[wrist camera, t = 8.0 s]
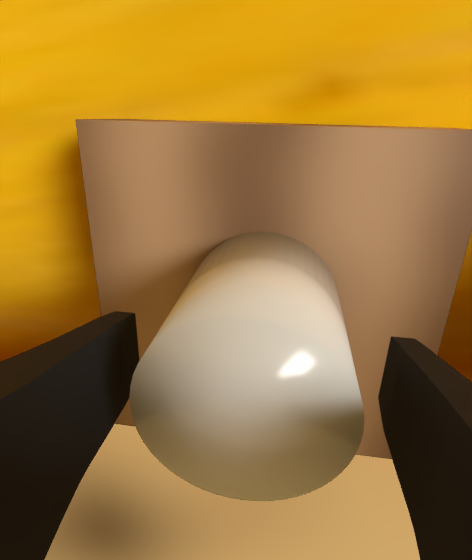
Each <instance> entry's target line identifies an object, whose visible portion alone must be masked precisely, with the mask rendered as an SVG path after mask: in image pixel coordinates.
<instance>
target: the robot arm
mask: <svg viewBox="0 0 472 560" xmlns="http://www.w3.org/2000/svg"><path fill="white" fill-rule="evenodd" d="M139 361H140V360H139V349H138V338H137V327H136V316H135V313H130V312H120V311H114V312H112V313H109V314H106V315H104V316H102V317H99V318H97V319H95V320H93V321H91V322H89V323H87V324H85V325H83V326H80V327H78V328H76V329H74V330H72V331H70V332H68V333H66V334H64V335H62V336H60V337H57V338H55V339H53V340H51V341H49V342H46V343H44V344H42V345H39V346H37V347H35V348H33V349H30V350H28V351H26V352H24V353H21V354H19V355H16V356H14V357H11V358H9V359H6V360H4V361H1V362H0V560H44V559H45V556H46V555H47V552H48V550H49V548H50V545H51V543H52V541H53V539H54V537H55V534H56V532H57V530H58V528H59V525H60V523H61V521H62V519H63V517H64V514H65V512H66V510H67V508H68V506H69V504H70V502H71V500H72V497H73V496H74V493H75V491H76V489H77V487H78V485H79V483H80V481H81V479H82V477H83V476H84V474H85V472H86V470H87V468H88V466H89V464H90V463H91V461H92V460H93V458H94V456H95V455H96V453H97V452H98V450H99V448H100V447H101V445H102V443H103V442H104V440H105V438H106V437H107V435H108V433H109V432H110V430H111V428H112V427H113V425H114V424H115V422H116V420H117V418H118V417H119V415H120V413H121V412H122V410H123V408H124V407H125V405H126V403H127V401H128V399H129V397H130V385H131V381H132V377H133V374H134V371H135V369H136V367H137V365H138V363H139ZM378 400H379V407H380V413H381V419H382V424H383V430H384V434H385V437H386V440H387V444H388V447H389V450H390V453H391V457H392V460H393V463H394V466H395V469H396V472H397V476H398V479H399V482H400V485H401V488H402V491H403V494H404V497H405V501H406V504H407V507H408V510H409V513H410V517H411V521H412V524H413V528H414V532H415V536H416V541H417V546H418V550H419V555H420V560H472V382H471V381H469V380H468V379H467V378H466V377H464V376H463V375H462V374H460V373H459V372H458V371H457V370H455V369H454V368H453V367H451V366H450V365H449V364H448V363H446V362H445V361H444V360H443V359H441V358H440V357H439V356H438V355H436V354H435V353H434V352H433V351H431V350H430V349H429V348H427V347H426V346H425V345H423V344H422V343H421V342H419V341H418V340H416V339H414V338H403V337H392V336H391V339H390V343H389V348H388V353H387V357H386V362H385V367H384V372H383V376H382V381H381V386H380V390H379V395H378Z"/></svg>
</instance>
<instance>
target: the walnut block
mask: <svg viewBox="0 0 472 560" xmlns="http://www.w3.org/2000/svg"><path fill="white" fill-rule="evenodd" d="M76 127H77V135H78V142H79V150H80V158H81V165H82V173H83V181H84V188H85V196H86V203H87V211H88V219H89V226H90V234H91V242H92V249H93V257H94V265H95V272H96V280H97V288H98V295H99V303H100V311H101V317H102V316H104V315H106V314H109V313H112V312H114V311H120V312H130V313H135V316H136V327H137V338H138V349H139V360H140V359H141V358H142V356H143V355H144V353H145V352H146V350H147V348H148V347H149V345H150V344H151V342H152V340H153V339H154V337H155V336H156V334H157V333H158V331H159V329H160V328H161V326H162V325H163V323H164V321H165V320H166V318H167V317H168V315H169V314H170V312H171V310H172V309H173V307H174V306H175V304H176V302H177V301H178V299H179V298H180V296H181V295H182V293H183V291H184V290H185V288H186V287H187V285H188V283H189V282H190V280H191V279H192V277H193V276H194V274H195V272H196V271H197V269H198V268H199V266H200V265H201V263H202V262H203V260H204V259H205V257H206V256H207V255H208V254H209V253H210V252H211V251H212V250H213V249H215V248H216V247H217V246H218V245H220V244H222V243H223V242H225V241H227V240H229V239H231V238H233V237H236V236H239V235H243V234H248V233H255V232H268V233H276V234H281V235H285V236H288V237H291V238H293V239H296V240H298V241H300V242H302V243H304V244H305V245H306V246H308V247H309V248H311V249H312V250H313V251H314V252H316V253H317V254H318V255H319V256H320V257H321V259H322V260H323V261H324V262H325V263H326V265H327V266H328V268H329V270H330V271H331V273H332V275H333V278H334V280H335V283H336V287H337V291H338V296H339V300H340V304H341V309H342V313H343V318H344V322H345V327H346V331H347V336H348V340H349V345H350V349H351V354H352V358H353V363H354V367H355V371H356V376H357V380H358V385H359V389H360V394H361V398H362V403H363V409H364V418H365V419H364V432H363V436H362V440H361V443H360V446H359V448H358V450H357V452H356V455H364V456H372V457H379V458H388V459H392V457H391V453H390V450H389V447H388V444H387V440H386V437H385V434H384V430H383V424H382V419H381V413H380V407H379V400H378V395H379V390H380V386H381V381H382V376H383V372H384V367H385V362H386V357H387V353H388V348H389V343H390V339H391V336H392V337H403V338H414V339H416V340H418V341H419V342H421V343H422V344H423V345H425V346H426V347H427V348H429V349H430V350H431V351H433V352H434V353H435V354H436V355H438V351H439V348H440V344H441V340H442V337H443V333H444V329H445V326H446V322H447V318H448V315H449V311H450V308H451V304H452V300H453V297H454V293H455V289H456V286H457V282H458V278H459V275H460V271H461V267H462V264H463V260H464V256H465V253H466V249H467V245H468V242H469V238H470V234H471V231H472V129H459V128H427V127H391V126H355V125H319V124H283V123H247V122H211V121H174V120H138V119H76ZM115 424H121V425H129V426H135V423H134V421H133V417H132V413H131V409H130V397H129V399H128V401H127V403H126V405H125V407H124V408H123V410H122V412H121V413H120V415H119V417H118V418H117V420H116V422H115Z"/></svg>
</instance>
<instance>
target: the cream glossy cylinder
mask: <svg viewBox="0 0 472 560" xmlns="http://www.w3.org/2000/svg"><path fill="white" fill-rule="evenodd" d="M130 409H131V413H132V417H133V421H134V423H135V426H136V429H137V431H138V433H139V435H140V436H141V438H142V440H143V442H144V443H145V445H146V446H147V447H148V449H149V450H150V451H151V453H152V454H153V455H154V456H155V457H156V458H157V459H158V460H159V461H160V462H161V463H162V464H163V465H164V466H166V467H167V468H168V469H169V470H170V471H172V472H173V473H175V474H176V475H177V476H179V477H180V478H182V479H184V480H185V481H187V482H189V483H191V484H193V485H195V486H197V487H199V488H201V489H203V490H206V491H209V492H212V493H215V494H218V495H222V496H225V497H229V498H235V499H240V500H251V501H273V500H282V499H288V498H293V497H297V496H300V495H303V494H306V493H309V492H311V491H314V490H316V489H318V488H320V487H322V486H324V485H325V484H327V483H328V482H330V481H332V479H334V478H335V477H336V476H338V475H339V474H340V473H341V472H342V471H343V470H344V469H345V468H346V467H347V466H348V465H349V463H350V462H351V460H352V459H353V457H354V456H355V454H356V452H357V450H358V448H359V446H360V443H361V440H362V436H363V432H364V419H365V418H364V409H363V403H362V398H361V394H360V389H359V385H358V380H357V376H356V371H355V367H354V363H353V358H352V354H351V349H350V345H349V340H348V336H347V331H346V327H345V322H344V318H343V313H342V309H341V304H340V300H339V296H338V291H337V287H336V283H335V280H334V278H333V275H332V273H331V271H330V270H329V268H328V266H327V265H326V263H325V262H324V261H323V260H322V259H321V257H320V256H319V255H318V254H317V253H316V252H314V251H313V250H312V249H311V248H309V247H308V246H306V245H305V244H304V243H302V242H300V241H298V240H296V239H293V238H291V237H288V236H285V235H281V234H276V233H268V232H255V233H248V234H243V235H239V236H236V237H233V238H231V239H229V240H227V241H225V242H223V243H222V244H220V245H218V246H217V247H216V248H215V249H213V250H212V251H211V252H210V253H209V254H208V255H207V256H206V257H205V259H204V260H203V262H202V263H201V265H200V266H199V268H198V269H197V271H196V272H195V274H194V276H193V277H192V279H191V280H190V282H189V283H188V285H187V287H186V288H185V290H184V291H183V293H182V295H181V296H180V298H179V299H178V301H177V302H176V304H175V306H174V307H173V309H172V310H171V312H170V314H169V315H168V317H167V318H166V320H165V321H164V323H163V325H162V326H161V328H160V329H159V331H158V333H157V334H156V336H155V337H154V339H153V340H152V342H151V344H150V345H149V347H148V348H147V350H146V352H145V353H144V355H143V356H142V358H141V359H140V361H139V363H138V365H137V367H136V369H135V371H134V374H133V377H132V381H131V385H130Z"/></svg>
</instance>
